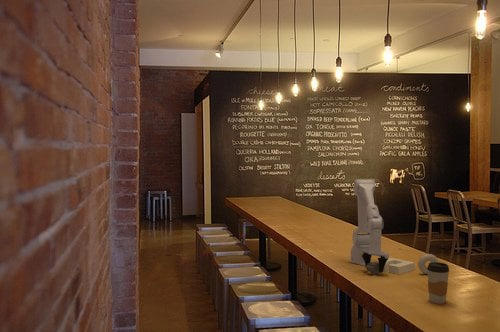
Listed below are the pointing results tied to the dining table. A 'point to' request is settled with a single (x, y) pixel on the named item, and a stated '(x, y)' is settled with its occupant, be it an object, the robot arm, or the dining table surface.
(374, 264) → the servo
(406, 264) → the chassis
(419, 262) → the donut
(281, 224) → the dining table surface
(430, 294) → the coffee cup
